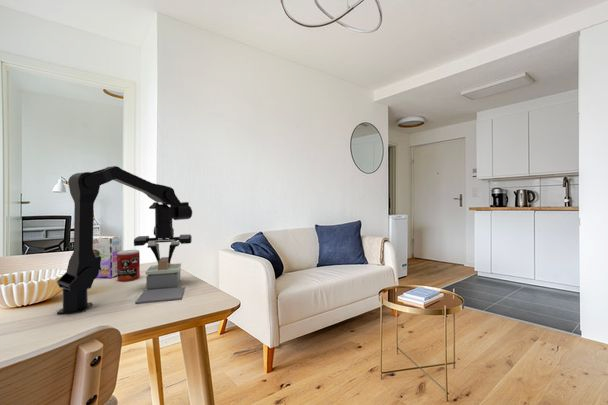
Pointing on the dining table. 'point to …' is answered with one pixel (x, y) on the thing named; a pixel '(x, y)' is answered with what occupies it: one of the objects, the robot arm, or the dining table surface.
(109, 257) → the candy box
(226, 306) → the dining table surface
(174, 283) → the storage box
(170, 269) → the lid
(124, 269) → the canned food
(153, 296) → the mat
